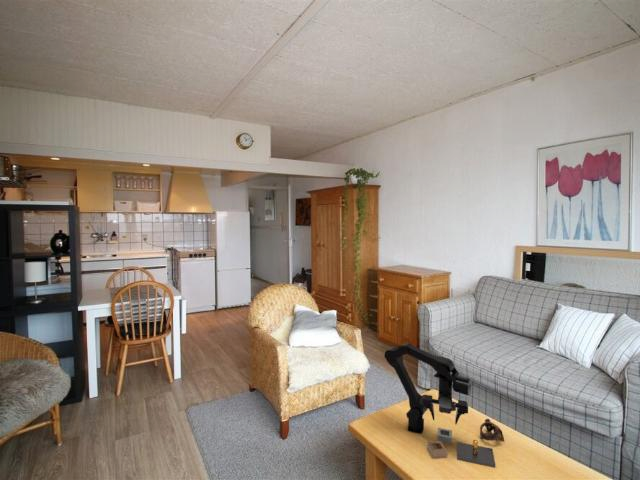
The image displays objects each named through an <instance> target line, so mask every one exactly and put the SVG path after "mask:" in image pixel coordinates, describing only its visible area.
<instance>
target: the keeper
mask: <svg viewBox="0 0 640 480" xmlns="http://www.w3.org/2000/svg"><path fill="white" fill-rule="evenodd" d="M478 444H479V441H478V440H477V439H473V440H472V444H471V443H465V442H461V441H456V454H457V455H456V456H457V460H458V461H464V462H467V463H472V464H477V465H481V466H482V465H483V466H488V467H492V468H496V462H495V461H496V460H495V456H494V455H495V454H494V451H493V450H494V449H493V448H491V447H486V446H480V445H478Z"/></svg>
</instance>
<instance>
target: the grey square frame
mask: <svg viewBox="0 0 640 480" xmlns="http://www.w3.org/2000/svg"><path fill="white" fill-rule="evenodd" d="M437 441H441V442H442V443H443V444H446V445H449V446H450V445H453V430H452V429H447V428H443V427H442V428H441V427H437Z"/></svg>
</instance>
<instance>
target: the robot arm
mask: <svg viewBox="0 0 640 480" xmlns="http://www.w3.org/2000/svg"><path fill="white" fill-rule="evenodd" d="M404 355H408V356H410V357H412V358H413V359H416V360H418V361H420V362H422V363H425V364H427V365H429V366H430V367H432V369H433V370H434V371H435V372H436V373H435V374H433V377H435V378H437V379H438V398H437V399H435V398H433V395H432V394H431V395H429V394H423V395H421V394H420V393H419V391H418V390H417V387H416V386H415V385H414V382H413V381H412V379H411V378H412V377H411V376H410V374H409V373H408V371H407V369H406V367H405V363H404ZM384 359H385V360H386V362H387V364H388V365H390V367H392V368H393V370H395V373H396V375H397V377H398V380H400V382H401V385H402V388H403V389H404V391H405V393H406V395H407V396H408V397H407V398H408V403H409V408H410V409H409V410H408V411H407V412H406V418H407V419H408V421H407V422H408V425H407V431H408V432H412V433H418V434H423V431H424V429H425V418H424V415H425V413H426V412H428V410H429V412H430V414H431V417H432V421H435V408H434V407H435V406H434V405H438V412H439V413H441V414H442V413H443V414H448V415H449V414H451V413H452V412H454V411H455V412H456V414H455V417H454V418H455V420H454V422H455V423H454V425H458V424H457V423H458V421H459V419H460V417H461V416H462V415H465V414H469V405H468V404H469V403H468V401H467V400H462V399H458V400H457V402H456V401H454V400H453V391H454V392H455V393H459V394H460V395H461V394H462V395H465V396H468V397H469V396H470V395H471V393H472V392H471V391H472V383H471V379H470V378H468V377H463V376H459V375H460V373H459V371H458V370H457V368H456V367H455V365H454V364H455V363H454V362H453V360H452V359H450V358H447V357H444V356H438V355H434V354H432V353H430V352H427V351H425V350H423V349H421V348H420V347H416V346H415V345H413V344H411V343H409V342H406V343H404V344H401V345H399V346H396V345H395V346H391V347H390V348H388V349H387V350H385V352H384Z"/></svg>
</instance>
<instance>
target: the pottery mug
mask: <svg viewBox="0 0 640 480" xmlns="http://www.w3.org/2000/svg"><path fill="white" fill-rule="evenodd" d="M484 427H485V428H486V429H485V430H486V432H490V433H491V432H493V433H491V434H488V433H485V432H484V431H483V428H484ZM479 430H480V431H479V437H480V439H483V440H485V441H488V442H489V441H498V437H501V438H502V442H505V438H504V434H503V431H502V429H501V427H500V426H499V425H498V424H495V423H494V422H492V421H491V420H490V418H486V419H484V422H483V423H481V424H480V427H479Z"/></svg>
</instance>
